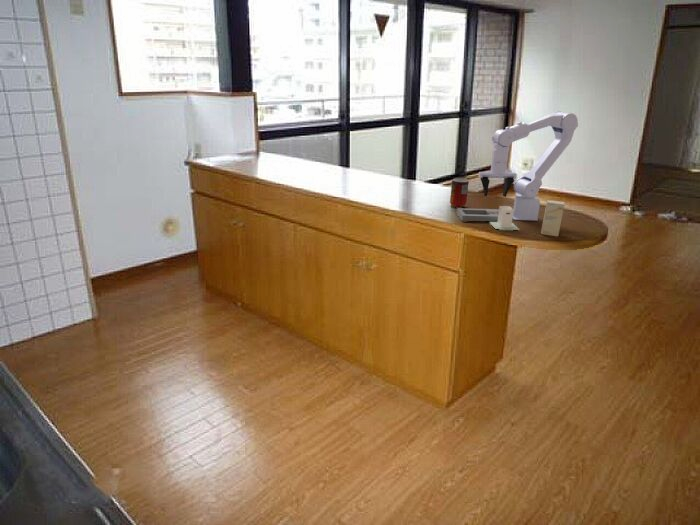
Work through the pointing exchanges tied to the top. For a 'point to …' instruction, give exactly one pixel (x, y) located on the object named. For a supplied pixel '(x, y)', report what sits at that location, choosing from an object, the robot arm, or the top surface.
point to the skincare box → (552, 218)
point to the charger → (505, 216)
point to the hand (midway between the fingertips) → (494, 195)
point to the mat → (503, 227)
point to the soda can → (459, 192)
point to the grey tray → (478, 214)
